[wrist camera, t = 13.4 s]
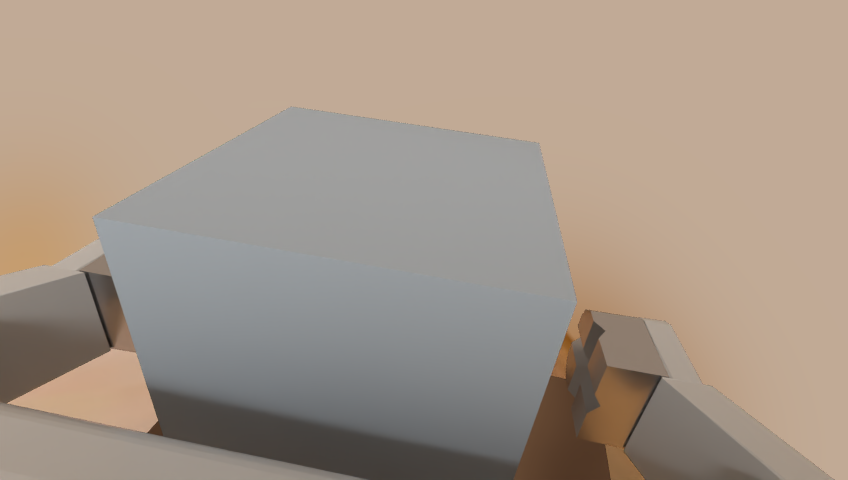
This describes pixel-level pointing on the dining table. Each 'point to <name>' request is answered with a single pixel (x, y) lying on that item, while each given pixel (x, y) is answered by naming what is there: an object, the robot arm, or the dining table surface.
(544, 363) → the slate block
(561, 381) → the walnut block
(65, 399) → the dining table surface
